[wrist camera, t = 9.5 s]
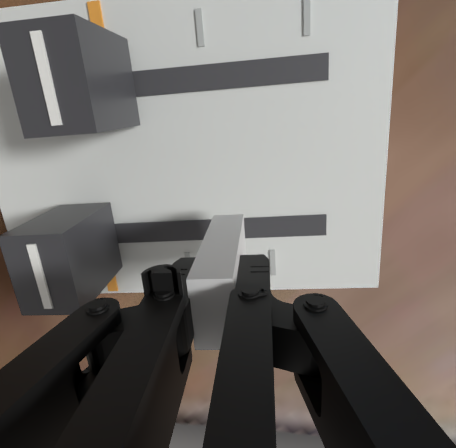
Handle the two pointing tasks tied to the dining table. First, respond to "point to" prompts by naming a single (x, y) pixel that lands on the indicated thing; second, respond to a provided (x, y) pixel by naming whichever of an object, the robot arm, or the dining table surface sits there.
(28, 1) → the dining table surface
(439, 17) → the dining table surface
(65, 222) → the fader
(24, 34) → the fader
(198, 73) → the console
